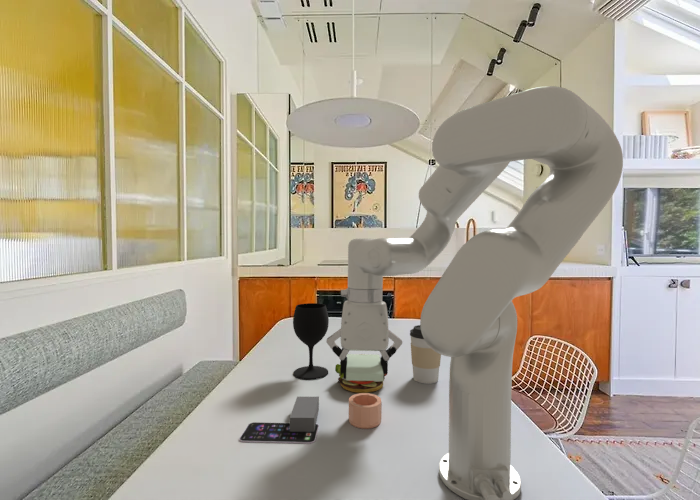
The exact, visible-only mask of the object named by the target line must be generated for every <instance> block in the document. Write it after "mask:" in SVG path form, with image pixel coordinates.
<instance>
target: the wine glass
mask: <svg viewBox="0 0 700 500" xmlns="http://www.w3.org/2000/svg"><path fill="white" fill-rule="evenodd" d="M292 318H293V319H292V327H293V331H294V333H295V335H296V337H297V339H299V340H300V341H301V342H302V343H303V344H305V345H306V346H307V347H308V354H309V355H308V356H309V357H308V358H309V359H308V360H309V362H308V365H306V366H301V367H299V368H296V369H294V370H293V376H294V377H295V378H296V379H298V380H299V379H300V380H306V381H307V380H308V381H313V380H314V381H315V380H321V379H323V378H325V377H326V376H328V375H329V370H328V369H327V368H326V367H324V366H319V365H314V363H313V361H314V359H313V356H314V354H313V353H314V347H315V345H317V344H318V343H319V342H321V341H322V340H323V338H324V337H325V336H326V334H327V331H328V329H329V324H330V323H329V322H330V321H329V313H328V308H327V305H326V304H323V303H319V302H317V303H315V302H314V303H312V302H310V303H309V302H308V303H300V304H297V305H296V306H295V309H294V312H293V317H292Z"/></svg>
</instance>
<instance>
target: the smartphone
mask: <svg viewBox="0 0 700 500" xmlns="http://www.w3.org/2000/svg"><path fill="white" fill-rule="evenodd" d="M319 427H320V425H319V424H318V423H316V426H315V430H314V432H290V422H262V421H260V422H259V421H256V422H255V421H254V422H250V423H248V425H247V426H246V428H245V429H244V431H243V432H242V433H241V435H240V437H239V441H240V442H241V443H259V444H260V443H261V444H262V443H264V444H301V445H302V444H303V445H305V444H306V445H309V444H314V443H315V442H316V440H317V436H318V430H319Z"/></svg>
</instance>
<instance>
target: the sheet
mask: <svg viewBox="0 0 700 500" xmlns="http://www.w3.org/2000/svg"><path fill="white" fill-rule="evenodd" d="M346 357H347V367H346V380H353V381H383V380H384V381H385V379H384V374H383V369H382V366H381V362H380V357H381V356H380V354H369V353H368V354H365V353H364V354H363V353H361V354H360V353H357V354H356V353H355V354H354V353H350V354H349V353H348V354H347V355H346ZM384 381H383V382H384Z"/></svg>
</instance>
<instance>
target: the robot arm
mask: <svg viewBox="0 0 700 500" xmlns="http://www.w3.org/2000/svg"><path fill="white" fill-rule="evenodd" d="M431 151H432V156H433V158H434V160H435V162H437V164H438V166H437V168H436V169H434V172H433V173H432V174H431V175H430V177H429V178H428V179H426V181H425V182H424V183H423V184H422V186H421V187H420V188H419V191H418V199H419V202H420V204H421V205H422V206H423V208H424V210H425V211H426V215H425V217H424V220H423V221H422V223H421V224H420V225H419V226H418V228H417V229H416V230H414V232H413V234H411V235H410V236H409V237H380V238H353V239H351V240H350V241H349V243H348V245H347V248H348V249H347V288H346V289H341V290H340V296H341V297H344V298H346V299H347V300H345V301H344V302H343V305H342V311H341V312H342V313H341V321H340V322H341V323H340V324H341V325H340V328H339V329H338V330H337V331H335V332H334V333H333V334H331V335H330V336H328V337H327V338H326V343H327V345H328V346H329V348H330V349H331V350H332V352H333V353H334V355H336V357H338V358H339V360H340V362H341V368H340V373H344V379H346V367H347V354H349V352H350V351H354V352H355V351H356V352H360V351H362V352H363V351H364V352H379V353H380V355H381V356H380V362H381V366H382V369H383V374H384V380H385V377H386V376H385V374H387V375H388V371H389V370H388V369H389V367H388V365H389V363H388V362H389V360H390V358H391V357H393V355H395V354H396V352H397V350H398V349H399V348H400V347H401V346H402V345H403V340H402V339H401V338H400V337H399V336H398V335H396V334H395V333H394V332H392V331H391V330H390V329H389V318H388V317H389V315H388V313H389V312H388V307H387V303H386V302H385V301H383V287H384V285H383V284H384V283H383V282H384V277H393V276H399V275H400V276H401V275H410V274H411V275H412V274H417V273H419V272H421V271H423V270H424V269H426V268H427V267H428V266H430V264H431V263H433V261H434V260H436V258H437V257H439V255H441V253H442V252H443V251H444V250H445V248H447V246H448V245H449V242H450V241H451V238H452V237H453V234H454V231H455V228H456V224H457V221H458V220H459V219H460V218H461V216H462V215H463V214H464V213H465V212H466V211H467V209H469V207H471V205H472V204H473V203H475V201H477V199H478V198H479V197H480V196H481V195H482V194H483V193H484V192H485V191H486V190H487V188H489V187H490V186H491V184H492V183H493V182H494V181H495V180H496V179H497V178H498V177H499V176H500V175H501V173H503V171H505V169H506V168H507V167H508V165H509V164H510V163H511V162H517V161H524V160H533V161H536V162H537V163H540V164H543V165H547V166H548V167H549V173H548V176H547V177H546V178H545V180H544V181H543V182H542V183H541V184H540V185H539V186H538V187H536V188H535V190H534V191H533V192H532V193H531V194H530V195H529V196H528V198H527V199H526V201H525V202H524V204H523V206H522V207H521V209H520V210H519V211H518V213H517V214H516V215H515V217H514V219H513V220H512V221H511V222H510V223H509V225H507V227H506V228H502V229H501V228H497V229H494V228H493V229H489V230H488V229H487V230H483V231H482V232H479V233H477V234H475V235H474V236H472V237H471V238H470V239H469V240H466V242H465V243H464V244H463V245H462V246H461V247H459V250H457V252H456V254H455V255H454V257H453V258H452V260H451V261H450V263H449V264H448V265H447V268H446V269H445V270H444V272H443V274H442V276H441V277H440V278H439V280H438V281H437V283H436V285H435V286H434V288H433V289H432V290H431V292H430V294H429V295H428V297H427V299H426V301H425V303H424V304H423V307H422V310H421V314H420V324H419V325H420V326H421V332H422V335H423V338H424V340H425V342H426V343H427V344H428V346H429V347H430V348H431V349H432V350H434V351H435V352H437V353H439V354H441V356H444V357H448V358H450V362H449V381H448V383H449V384H448V387H449V388H448V389H449V391H448V392H449V393H448V397H449V398H448V453H446V454H445V455H444V456H442V458H441V459H439V464H438V474H439V478H440V479H441V482H443V484H444V485H445V486H446V488H448V489H449V490H450V491H452V492H453V493H454V494H456V495H457V496H459V497H461V498H463V499H465V500H516V499H517V498H518V497H519V495H520V493H521V490H522V480H521V477H520V475H519V473H518V471H516V469H515V468H514V467H513V466H512V465H511V451H512V450H511V446H512V445H511V442H512V441H511V439H512V438H511V437H512V435H511V434H512V433H511V432H512V389H513V387H512V386H513V385H512V384H513V383H512V381H513V379H512V378H513V377H512V376H513V361H514V359H513V358H514V351H515V344H516V338H517V332H518V315H517V310H516V308H515V305H514V303H513V300H514V299H515V298H517V297H518V298H519V297H521V296H526V295H529V294H532V293H533V292H536V291H538V290H540V289H541V288H542V287H543V286H544V285H546V283H547V282H548V281H549V280H550V278H551V277H552V275H553V274H554V273H555V271H556V270H557V269H558V267H559V266H560V265H561V263H562V262H563V261H564V260H565V258H567V256H568V255H569V253H570V252H571V251H572V250H573V248H574V247H575V246H576V244H577V243H578V242H579V240H580V239H581V238H582V236H583V234H584V233H585V232H586V231H587V230H588V229H589V227H590V226H591V225H592V223H593V222H594V221H595V220H596V218H597V217H598V216H599V215H600V214H601V212H602V211H603V209H605V207H606V206H607V204H608V203H609V201H610V200H611V199H612V197H613V195H614V193H615V191H616V189H617V187H618V186H619V183H620V180H621V176H622V172H623V165H624V158H623V157H624V156H623V155H624V154H623V149H622V147H621V143H620V141H619V139H618V137H617V135H616V134H615V132H614V130H613V129H612V128H611V127H610V125H609V124H608V122H607V121H606V120H605V119H604V118H603V117H602V116H601V114H600V113H599V112H597V111H596V110H595V109H594V108H593V107H592V106H591V105H589V104H588V103H587V102H586V101H585V100H583V98H582V97H580V96H579V95H578V94H576V93H575V92H573V91H572V90H571V89H568V88H566V87H562V86H556V85H555V86H554V85H548V86H538V87H533V88H529V89H526V90H522V91H519V92H516V93H513V94H509V95H507V96H503V97H499V98H496V99H493V100H490V101H487V102H483V103H480V104H476V105H474V106H471V107H467V108H465V109H462V110H459V111H458V112H456V113H454V114H452V115H450V116H448V118H447V119H445V120H444V121H443V122H442V123H441V124H440V125H439V127H438V128H437V130H436V131H435V134H434V137H433V138H432V143H431ZM338 339H340V345H341V348H340V346H339V345H338V344H337V343H336V341H337V340H338ZM389 339H390V340H391V341H392V342H393V343H392V345H391V346H389V343H390V342H389Z"/></svg>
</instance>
